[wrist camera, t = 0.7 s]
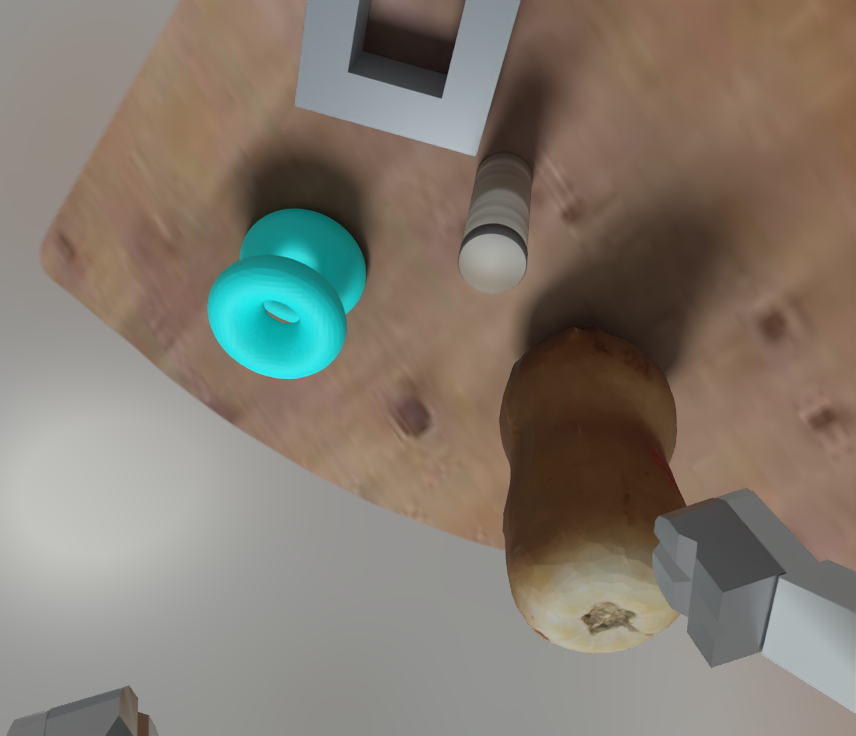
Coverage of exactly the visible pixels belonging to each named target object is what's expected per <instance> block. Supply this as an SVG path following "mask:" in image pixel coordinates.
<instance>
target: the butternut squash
mask: <svg viewBox="0 0 856 736" xmlns="http://www.w3.org/2000/svg"><path fill="white" fill-rule="evenodd" d="M499 423H500V433H501V439H502V445H503V448H504V451H505V453H506V456H507V459H508V461H509V464H510V468H511V479H510V486H509V492H508V496H507V501H506V505H505V509H504V513H503V516H504V519H503V533H504V536H505V548H506V564H507V573H508V577H509V582H510V587H511V592H512V595H513V598H514V600H515V603H516V605H517V608H518V609H519V611H520V613H521V614H522V616H523V617H524V619H525V620H526V622H527V623H528V625H529V626H530V627H531V628H532V629H533V630H534V631H535V632H536V633H537V634H538V635H539V636H541V637H542V638H543V639H545V640H548V641H550V642H552V643H554V644H556V645H559V646H562V647H565V648H568V649H570V650H574V651H581V652H586V653H605V652H614V651H620V650H625V649H629V648H632V647H634V646H636V645H638V644H640V643H642V642H644V641H646V640H648V639H650V638H651V637H653V636H654V635H655V634H657V633H659V632H660V631H662V630H664V629H665V628H667V627H668V626H670V625H671V624H672V623H673V622H674V621H675V620H676V619H677V618H678V616H679V615H680V614H681V613H679V612H677V611H675V610H673V609H671V607H670V606H669V604H668V602H667V601H666V599H665V598H664V596H663V594H662V592H661V590H660V588H659V586H658V584H657V582H656V578H655V574H654V570H653V567H652V560H653V550H654V549H655V548H656V547H657V545H658V544H659V543H660V540H659V539H658V537H657V536H656V535H655V533H654V527H655V521H656V519H657V518H658V516H660V515H662V514H665V513H668V512H671V511H674V510H677V509H680V508H683V507H686V504H685V502H684V499H683V497H682V495H681V493H680V491H679V489H678V486H677V484H676V482H675V479H674V477H673V474H672V472H671V469H670V467H669V463H670V460H671V458H672V454H673V452H674V448H675V444H676V434H677V427H676V423H677V421H676V407H675V402H674V398H673V395H672V392H671V390H670V387H669V384H668V382H667V379H666V377H665V375H664V373H663V372H662V370H661V369H660V368H659V366H658V365H657V364H656V363H655V362H654V361H653V360H652V359H651V358H650V357H649V356H648V355H647V354H645V353H644V352H643V351H641V350H640V349H639V348H637V347H636V346H635V345H633V344H632V343H630V342H629V341H627V340H625V339H623V338H620V337H617V336H614V335H611V334H608V333H606V332H604V331H602V330H601V329H600V328H598V327H596V326H592V327H589V328H586V329H579V328H576V327H572V328H570V329H567V330H564V331H561V332H558V333H557V334H555V335H553V336H551V337H549V338H548V339H546V340H544V341H542V342H540V343H539V344H537V345H536V346H534V347H532V348H531V349H529V350H528V351H527V352H526V353H525V354H524V355H523V356H522V358H521V359H519V360H518V361H517V362H515V364H514V366H513V368H512V371H511V374H510V377H509V380H508V383H507V386H506V389H505V392H504V395H503V400H502V405H501V411H500V419H499Z"/></svg>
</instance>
